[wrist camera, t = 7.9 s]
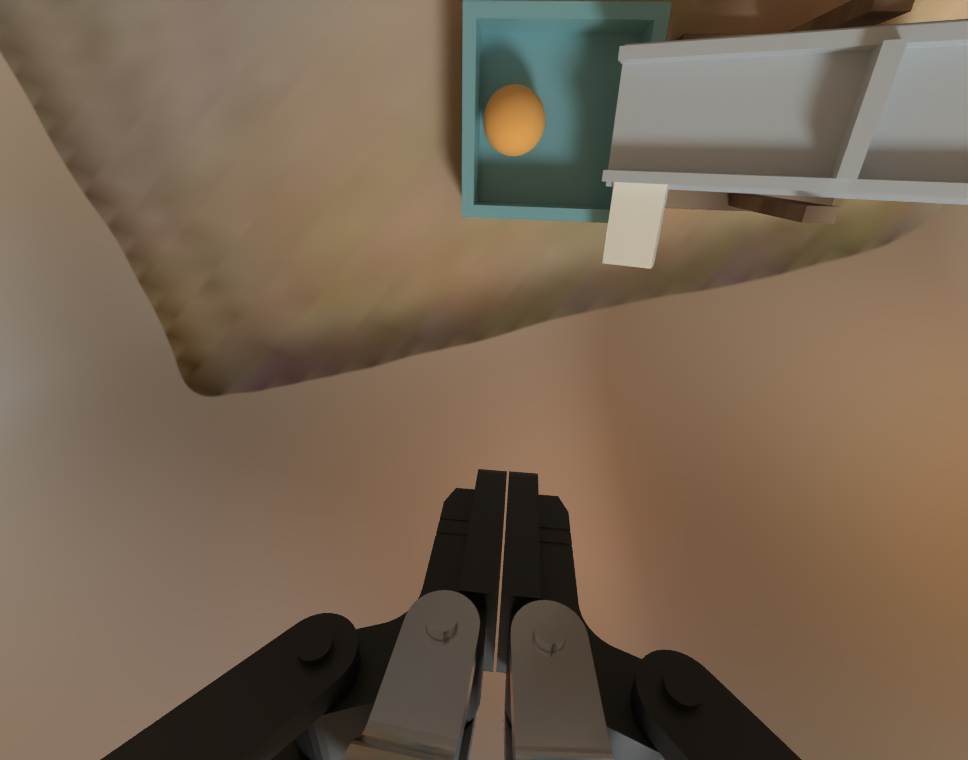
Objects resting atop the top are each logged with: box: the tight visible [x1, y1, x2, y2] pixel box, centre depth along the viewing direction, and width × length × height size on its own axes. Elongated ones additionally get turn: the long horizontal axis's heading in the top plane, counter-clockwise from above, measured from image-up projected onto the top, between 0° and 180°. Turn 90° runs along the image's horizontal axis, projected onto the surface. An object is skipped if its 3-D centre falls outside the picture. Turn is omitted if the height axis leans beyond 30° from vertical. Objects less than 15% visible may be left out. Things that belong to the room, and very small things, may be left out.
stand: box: [665, 0, 914, 224], centre depth 25 cm, size 12×10×10 cm
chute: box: [602, 19, 968, 269], centre depth 25 cm, size 17×12×10 cm
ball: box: [483, 84, 546, 156], centre depth 29 cm, size 4×4×4 cm
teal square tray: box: [462, 0, 672, 223], centre depth 29 cm, size 12×12×4 cm
